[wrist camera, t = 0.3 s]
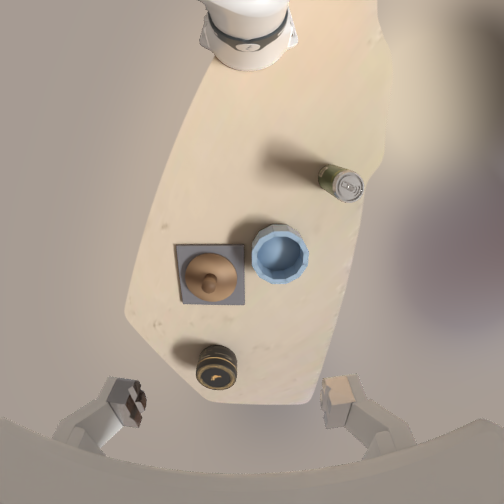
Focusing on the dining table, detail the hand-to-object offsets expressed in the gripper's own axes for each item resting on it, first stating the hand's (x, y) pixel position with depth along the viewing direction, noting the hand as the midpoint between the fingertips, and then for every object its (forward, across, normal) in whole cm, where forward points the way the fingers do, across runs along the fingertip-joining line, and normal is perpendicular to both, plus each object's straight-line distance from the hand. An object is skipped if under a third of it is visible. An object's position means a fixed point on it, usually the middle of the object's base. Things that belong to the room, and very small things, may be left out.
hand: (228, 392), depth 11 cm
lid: (+46, +8, +17) cm, 50 cm away
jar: (+47, +10, +41) cm, 63 cm away
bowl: (+47, -6, +12) cm, 48 cm away
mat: (+47, +8, +17) cm, 50 cm away
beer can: (+47, -17, -3) cm, 50 cm away
